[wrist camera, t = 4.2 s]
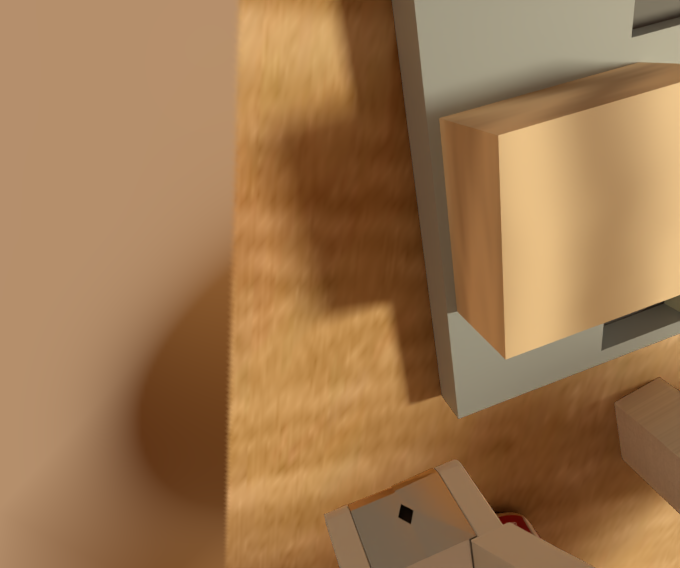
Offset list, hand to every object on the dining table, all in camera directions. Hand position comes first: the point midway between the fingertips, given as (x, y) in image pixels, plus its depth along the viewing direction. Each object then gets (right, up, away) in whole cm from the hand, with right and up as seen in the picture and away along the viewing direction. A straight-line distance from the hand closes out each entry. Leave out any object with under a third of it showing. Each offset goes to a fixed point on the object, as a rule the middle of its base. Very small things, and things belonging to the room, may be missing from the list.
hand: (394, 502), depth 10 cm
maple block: (+8, +9, +11) cm, 16 cm away
